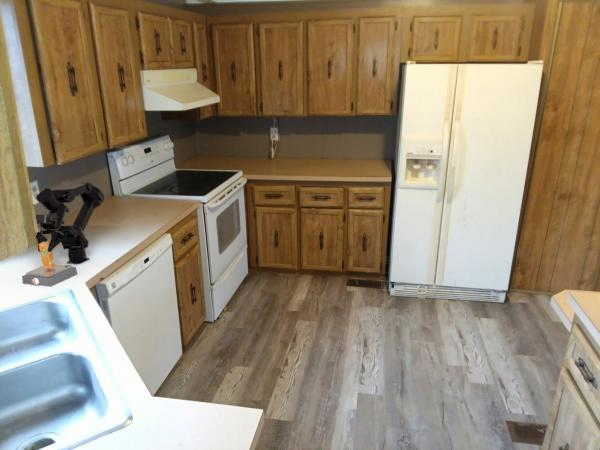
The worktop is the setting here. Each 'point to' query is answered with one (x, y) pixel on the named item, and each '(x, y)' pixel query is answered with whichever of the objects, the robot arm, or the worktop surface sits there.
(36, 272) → the pan
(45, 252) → the supplement box
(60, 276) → the kitchen scale
